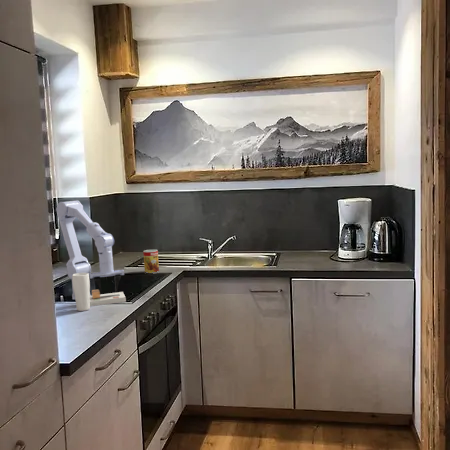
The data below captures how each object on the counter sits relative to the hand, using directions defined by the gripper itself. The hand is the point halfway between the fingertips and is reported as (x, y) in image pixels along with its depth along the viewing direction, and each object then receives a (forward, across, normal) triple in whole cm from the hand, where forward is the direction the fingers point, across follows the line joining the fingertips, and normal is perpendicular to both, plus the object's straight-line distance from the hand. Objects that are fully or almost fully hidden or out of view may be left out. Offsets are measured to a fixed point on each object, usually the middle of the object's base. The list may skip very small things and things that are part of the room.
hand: (108, 292), depth 235 cm
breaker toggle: (+1, -5, 0) cm, 6 cm away
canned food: (+4, +28, +54) cm, 61 cm away
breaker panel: (+4, -1, 0) cm, 4 cm away
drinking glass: (+4, -11, -10) cm, 16 cm away
